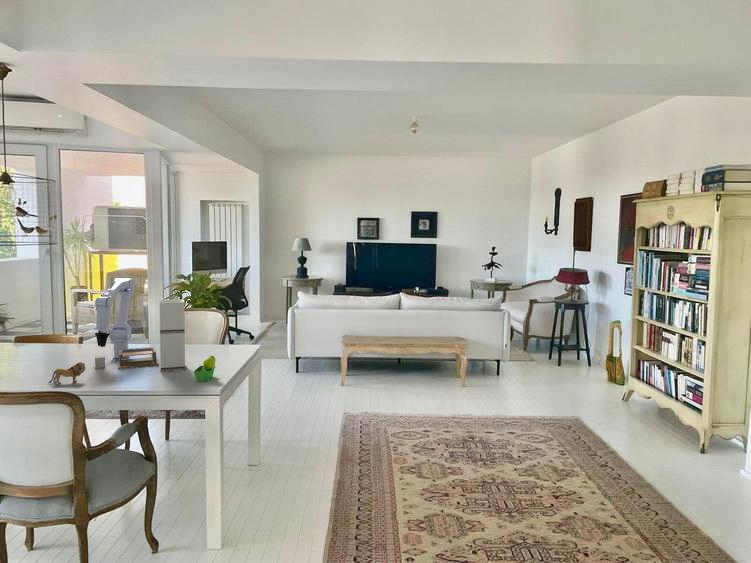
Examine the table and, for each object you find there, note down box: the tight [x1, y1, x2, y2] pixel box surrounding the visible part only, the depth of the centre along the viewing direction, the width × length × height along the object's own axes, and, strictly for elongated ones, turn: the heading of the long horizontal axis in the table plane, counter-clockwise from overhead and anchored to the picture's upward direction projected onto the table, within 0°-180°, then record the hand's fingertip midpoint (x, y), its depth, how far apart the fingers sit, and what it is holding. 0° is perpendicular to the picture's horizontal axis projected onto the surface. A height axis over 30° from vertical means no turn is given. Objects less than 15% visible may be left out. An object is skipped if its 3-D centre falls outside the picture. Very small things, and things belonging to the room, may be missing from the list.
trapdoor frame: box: [116, 346, 160, 370], centre depth 263 cm, size 18×19×6 cm
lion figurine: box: [48, 361, 86, 385], centre depth 226 cm, size 15×5×9 cm, turn 116°
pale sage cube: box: [94, 355, 106, 368], centre depth 255 cm, size 4×4×5 cm
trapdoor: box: [123, 346, 153, 358], centre depth 263 cm, size 10×14×3 cm
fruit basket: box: [193, 355, 216, 382], centre depth 237 cm, size 11×9×11 cm
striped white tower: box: [159, 299, 186, 372], centre depth 253 cm, size 11×11×35 cm
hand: (101, 346), depth 255 cm, fingers open, 7 cm apart
